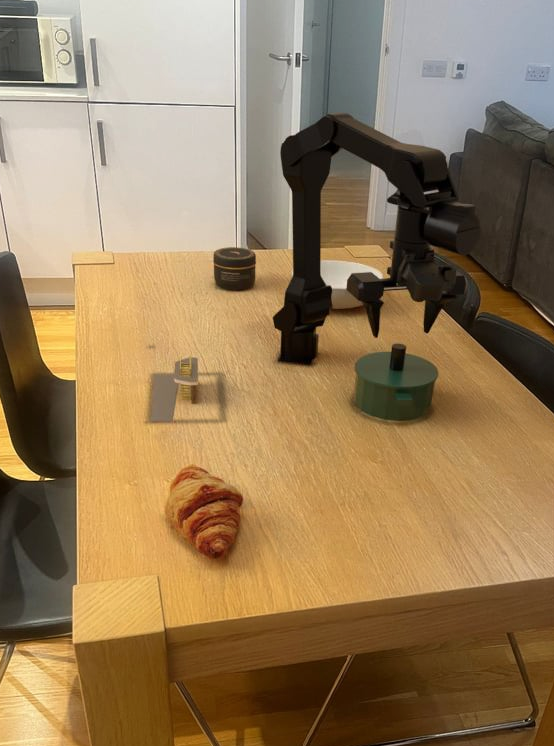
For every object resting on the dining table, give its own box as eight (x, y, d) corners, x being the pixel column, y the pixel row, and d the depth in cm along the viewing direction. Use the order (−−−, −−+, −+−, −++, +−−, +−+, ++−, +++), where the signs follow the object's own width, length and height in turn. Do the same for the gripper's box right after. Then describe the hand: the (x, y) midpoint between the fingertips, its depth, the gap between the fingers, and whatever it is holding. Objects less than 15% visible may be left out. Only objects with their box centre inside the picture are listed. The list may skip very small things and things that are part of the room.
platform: (149, 421, 123) (147, 385, 120) (154, 374, 138) (152, 340, 134) (223, 420, 125) (223, 384, 121) (220, 373, 140) (219, 340, 136)
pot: (360, 431, 124) (364, 395, 120) (347, 381, 140) (350, 348, 136) (440, 431, 125) (446, 396, 121) (419, 382, 141) (424, 349, 137)
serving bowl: (396, 300, 177) (399, 271, 173) (352, 326, 162) (354, 295, 158) (320, 281, 186) (322, 253, 182) (272, 304, 171) (272, 274, 167)
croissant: (171, 501, 111) (142, 462, 106) (230, 465, 111) (203, 425, 106) (200, 591, 94) (167, 551, 89) (270, 550, 94) (240, 507, 89)
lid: (359, 392, 123) (362, 363, 120) (349, 356, 134) (351, 329, 131) (445, 393, 124) (450, 364, 121) (428, 357, 135) (432, 330, 133)
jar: (219, 276, 185) (218, 244, 181) (259, 280, 184) (259, 248, 180) (209, 289, 177) (208, 256, 173) (251, 293, 176) (251, 260, 172)
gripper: (377, 257, 107) (367, 359, 116) (492, 251, 113) (474, 349, 122) (349, 235, 116) (341, 332, 125) (457, 230, 121) (442, 323, 130)
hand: (400, 334), depth 125 cm, fingers open, 9 cm apart
